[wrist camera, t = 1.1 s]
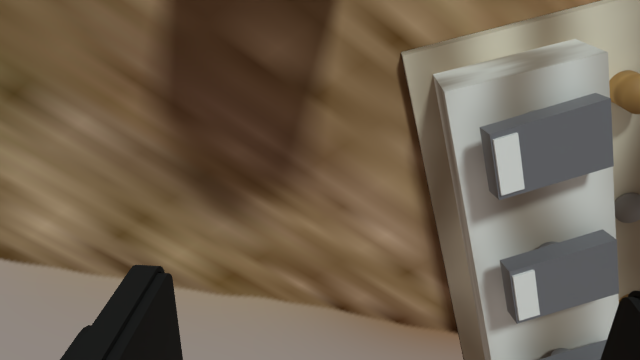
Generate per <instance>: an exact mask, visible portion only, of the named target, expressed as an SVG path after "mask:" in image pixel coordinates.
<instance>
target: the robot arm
mask: <svg viewBox="0 0 640 360" xmlns="http://www.w3.org/2000/svg"><path fill="white" fill-rule="evenodd" d="M60 360H183V357H182V349H181V342H180V335H179V326H178V318H177V311H176V303H175V295H174V287H173V279H172V276H171V274H169V273H164V269H163V268H162V267H161V266H147V265H134V266H133V267H132V268H131V269H130V270H129V272H128V273H127V275H126V276H125V278H124V279H123V281H122V282H121V284H120V285H119V287H118V288H117V289H116V291H115V292H114V294H113V295H112V297H111V298H110V300H109V301H108V302H107V304H106V306H105V307H104V308H103V310H102V311H101V313H100V314H99V316H98V317H97V319H96V320H95V321H94V323H93V324H92V326H90V325H88V326H86V327H85V328H83V329H82V330H81V332H80V333H79V334H78V335H77V337H76V338H75V339H74V341H73V342H72V344H71V345H70V347H69V348H68V350H67V351H66V352H65V354H64V355H63V356H62V358H61V359H60ZM600 360H640V291H637V290H635V291H632V292H631V293H630V294H629V295H628V297H624V298H622V299H621V300H620V302H619V305H618V308H617V311H616V314H615V317H614V320H613V323H612V326H611V329H610V332H609V335H608V338H607V341H606V344H605V347H604V350H603V353H602V356H601V359H600Z"/></svg>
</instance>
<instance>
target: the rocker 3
mask: <svg viewBox="0 0 640 360" xmlns="http://www.w3.org/2000/svg"><path fill="white" fill-rule="evenodd" d="M606 341H607V340H603V341H600V342H597V343H593V344H590V345H587V346H583V347H580V348H577V349H573V350H569V349H566V348H558V349H555V350H554V351H553V352H552V353H551V356H550V357H547V358H543V359H540V360H600V359H601V356H602V353H603V350H604V347H605V344H606Z"/></svg>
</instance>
